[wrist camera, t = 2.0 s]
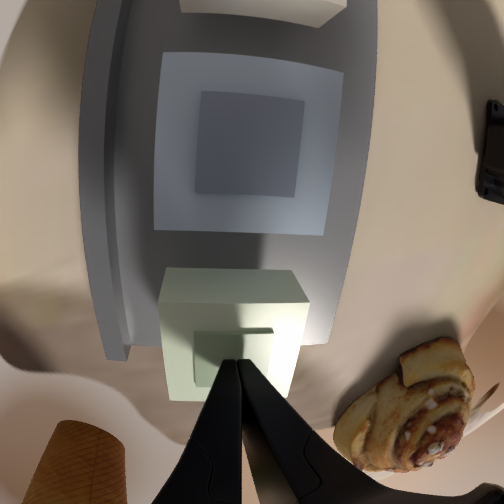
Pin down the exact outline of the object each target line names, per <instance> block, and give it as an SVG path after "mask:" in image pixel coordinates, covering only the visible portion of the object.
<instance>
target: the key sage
mask: <svg viewBox="0 0 504 504" xmlns="http://www.w3.org/2000/svg"><path fill="white" fill-rule="evenodd" d="M309 306H310V301H309V300H308V298H307V296H306V294H305V293H304V291H303V289H302V287H301V286H300V284H299V282H298V280H297V279H296V277H295V275H294V273H293V272H292V270H267V269H213V268H173V267H166V271H165V275H164V279H163V283H162V287H161V291H160V295H159V299H158V310H159V321H160V331H161V340H162V348H163V356H164V364H165V371H166V378H167V385H168V391H169V397H170V400H173V401H206V398H207V396H208V394H209V391H210V389H211V386H212V384H213V382H214V379H215V377H216V375H217V372H218V370H219V367H220V365H221V363H222V360H224V359H235V360H236V361H237V359H250V360H251V361H252V362H253V363H254V364H255V365H256V366H257V368H258V369H259V370H260V371H261V372H262V373H263V375H264V376H265V377H266V378H267V379H268V380H269V382H270V383H271V384H272V385H273V386H274V387H275V388H276V389H277V391H278V392H279V393H280V394H281V395H282V396H283V397H284V398H286V397H287V396H288V392H289V388H290V385H291V381H292V377H293V373H294V369H295V365H296V362H297V358H298V353H299V349H300V345H301V341H302V337H303V333H304V328H305V324H306V320H307V315H308V311H309Z"/></svg>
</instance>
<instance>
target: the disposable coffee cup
mask: <svg viewBox="0 0 504 504" xmlns="http://www.w3.org/2000/svg"><path fill="white" fill-rule="evenodd" d="M125 479H126V476H125V448H124V446H123V444H122V443H121V442H120V441H119V440H118V439H117V438H116V437H114V436H113V435H111V434H110V433H108V432H106V431H104V430H102V429H100V428H98V427H96V426H93V425H90V424H87V423H83V422H79V421H73V420H64V421H61V422H59V423H58V424H57V426H56V429H55V431H54V433H53V435H52V437H51V439H50V441H49V443H48V445H47V447H46V450H45V451H44V454H43V455H42V457H41V460H40V462H39V464H38V467H37V469H36V471H35V473H34V475H33V478H32V480H31V483H30V485H29V488H28V490H27V492H26V495H25V497H24V500H23V502H22V504H127V494H126V480H125Z"/></svg>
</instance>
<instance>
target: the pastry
mask: <svg viewBox="0 0 504 504" xmlns="http://www.w3.org/2000/svg"><path fill="white" fill-rule="evenodd" d="M474 390H475V382H474V376H473V374H472V372H471V370H470V368H469V367H468V365H467V364H466V360H465V358H464V355H463V353H462V350H461V348H460V345H459V344H458V343H457V342H456V341H455V340H453V339H452V338H448V337H440V338H437V339H435V340H433V341H431V342H426V343H423V344H421V345H419V346H417V347H415V348H413V349H410V350H408V351H405V352H404V353H402V354H401V356H400V365H399V366H398V368H397V369H396V370H395V371H394V372H393V373H392V374H391V375H389V376H388V377H387V378H385V379H384V380H382V381H381V382H379V383H377V384H376V385H374V386H373V387H372V388H371V389H370V390H368V391H367V392H366V393H365V394H363V395H362V396H361V397H359V398H358V399H357V400H356V401H354V402H353V403H352V404H351V405H350V406H349V407H348V408H347V409H346V411H345V412H344V413H343V414H342V416H341V417H340V419H339V420H338V422H337V424H336V426H335V429H334V434H333V440H334V443H335V445H336V447H337V449H338V450H339V452H340V453H341V454H342V455H343V456H344V457H345V458H347V459H348V460H350V461H351V462H352V463H353V464H354V466H355V467H357V468H358V469H360V470H361V471H362V470H363V469H364V470H367V471H374V472H377V471H383V470H385V471H391V472H403V473H404V472H409V471H417V470H420V469H422V468H423V467H426V466H428V467H430V466H432V465H433V462H434V461H436V460H437V459H442V458H445V457H446V456H447V455H449V454H450V453H451V452H452V451H454V449H455V448H456V447H457V446H458V444H459V441H460V439H461V437H463V431H464V428H465V426H466V424H467V421H468V417H469V412H470V410H471V400H472V397H473V393H474Z"/></svg>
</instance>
